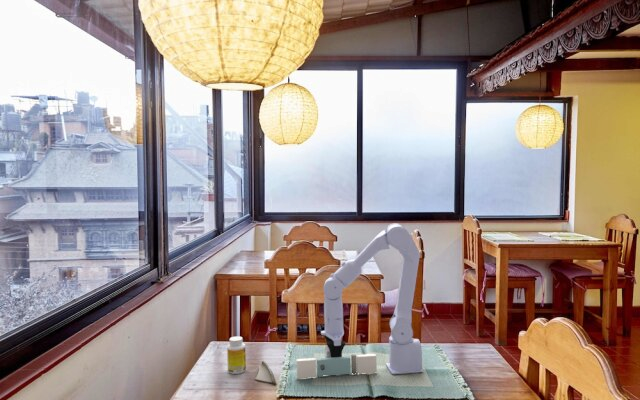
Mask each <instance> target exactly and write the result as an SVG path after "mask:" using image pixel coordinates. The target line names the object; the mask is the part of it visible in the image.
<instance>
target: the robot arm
mask: <svg viewBox="0 0 640 400" xmlns="http://www.w3.org/2000/svg"><path fill="white" fill-rule="evenodd" d="M390 246H391V247H393V248H394V249H395V250H397V251H398V252H399V254H400V255H401V256H402V262H401V271H400V276H399V283H398V288H397V289H398V290H397V291H398V292H397V298H396V305H395V308H394V312H393V315H392V317H391V318H390V319H389V322H388V323H389V328H390V331H391V332H390V333H391V334H390V336H389V337H388V347H389V348H388V349H389V351H388V354H389V357H388V359H389V362H385V366H387V368H388V370H389V372H390V374H392V375H402V374H413V373H414V374H415V373H423V371H424V370H423V352H422V351H423V350H422V345H421V341H420V339H419V338H414V337H413V336H414V330H413V327H412V320H413V319H412V318H413V317H412V315H413V314H412V309H413V303H414V299H415V298H414V296H415V291H416V284H417V278H418V271H419V270H418V269H419V263H420V256H421V253H420V251H419V248H418V246H417V244H416V242H415V241H414V238H413V236H412V235H411V234H410V232H409V231H408V230H407V229H406V228H405V227H404V226H403V225H402V224H400V223H395V222H394V223H391V224H388V226H387V227H386V229H383V230H382V231H380V232H379V233H377V235H376V236H375V237H374V238H373V239H372V240H371V241H370V242H369V243H368V244H367V245H366V246H365V248H363V249H362V251H361V252H359V254H358V255H357V256H356V257H355V258H354V259H347V260H346V261H345V260H343V261H342V262H341V264H340V267H339V268H337V270H336V271H335V272H334V273H333V272H332V273H331V274H330V275H329V278H327V279H326V280H325V282H324V285H323V287H322V290H323V295H324V297H323V299H324V300H323V301H324V303H323V313H324V314H323V316H324V320H323V321H324V330H320V334H321V335H322V336H323V338H324V339H325V343H326V346H328V348H329V350H330V354H331V358H333V357H341V353H342V354H343V349H344V348H345V346H346V341H344V340H343V341H342V339H343V336H344V334H345V330H344V308H343V305H344V304H343V301H342V295H343V289H346V288H348V287H349V286H350V285H351V284H352V283H353V282H355V280H357V278H358V277H360V275H361V274H362V267H363V266H364V265H365V264H367V263H368V262H369V261H370V260H371V259H372V258H374V256H375V255H377V253H379V252H380V251H383V250H389V249H390Z"/></svg>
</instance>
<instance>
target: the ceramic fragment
mask: <svg viewBox="0 0 640 400" xmlns="http://www.w3.org/2000/svg"><path fill="white" fill-rule="evenodd" d="M254 380H255V381H257V382H261V383H266V384H267V383H269V384H272V385H275V386H277V385H278V384H277V380H276V377H275V375H274V373H273V370H272V369H271V368H270V366H269V365H268V363H267V362H265V361H264V360H262V361H261V365H260V366H259V367H258V373H257V375H256V376H255V379H254Z"/></svg>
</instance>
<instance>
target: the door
mask: <svg viewBox="0 0 640 400" xmlns="http://www.w3.org/2000/svg"><path fill="white" fill-rule="evenodd" d="M350 356H351V355H350ZM350 356H342V357H333V358H326V357H324V358H323V357H322V358H321V357H319V358H316V377H318V376H322V377H324V376H323V375H336V376H338V375H337V374H349V375H352V364H351V357H350Z"/></svg>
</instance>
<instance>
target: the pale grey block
mask: <svg viewBox="0 0 640 400" xmlns="http://www.w3.org/2000/svg"><path fill="white" fill-rule="evenodd" d="M324 348H325V358H331V354H330V350H329V348H328V346H327V345H325V347H324ZM341 357H343V352H342V353H341Z"/></svg>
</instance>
